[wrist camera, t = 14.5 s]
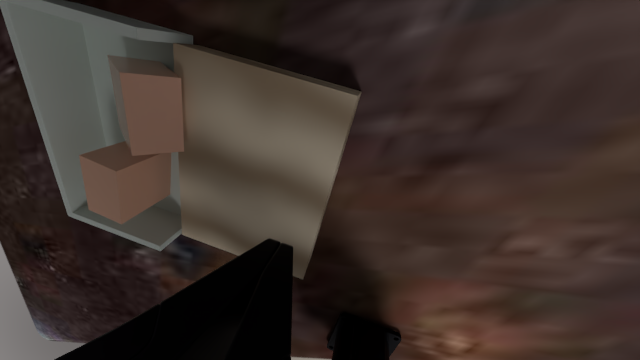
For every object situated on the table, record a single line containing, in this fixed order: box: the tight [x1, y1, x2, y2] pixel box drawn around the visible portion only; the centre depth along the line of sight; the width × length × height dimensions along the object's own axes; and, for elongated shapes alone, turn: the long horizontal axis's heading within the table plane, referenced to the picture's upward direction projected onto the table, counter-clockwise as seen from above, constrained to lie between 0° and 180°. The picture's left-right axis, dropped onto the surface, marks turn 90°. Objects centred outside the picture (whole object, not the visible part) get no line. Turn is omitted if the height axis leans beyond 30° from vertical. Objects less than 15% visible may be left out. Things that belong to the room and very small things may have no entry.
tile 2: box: [79, 141, 171, 224], centre depth 20 cm, size 5×5×3 cm
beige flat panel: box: [173, 43, 361, 279], centre depth 19 cm, size 16×12×2 cm
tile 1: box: [107, 55, 184, 156], centre depth 17 cm, size 5×5×3 cm
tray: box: [0, 0, 193, 251], centre depth 20 cm, size 17×10×4 cm, turn 166°
